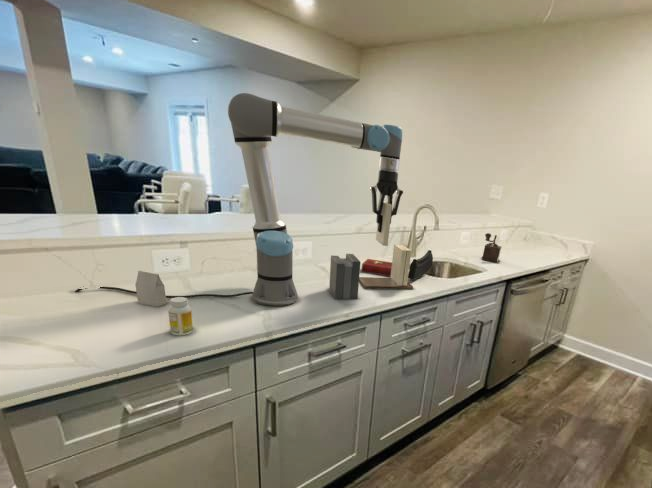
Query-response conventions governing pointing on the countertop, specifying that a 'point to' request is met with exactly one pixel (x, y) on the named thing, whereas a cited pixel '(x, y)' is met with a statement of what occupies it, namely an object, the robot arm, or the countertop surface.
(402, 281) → the white books
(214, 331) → the countertop surface
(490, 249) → the manual coffee grinder
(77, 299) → the countertop surface
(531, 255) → the countertop surface
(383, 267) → the hardcover book
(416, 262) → the magazine
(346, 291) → the grey books
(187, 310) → the supplement bottle
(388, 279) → the shelf board
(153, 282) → the grey stone
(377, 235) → the white book
